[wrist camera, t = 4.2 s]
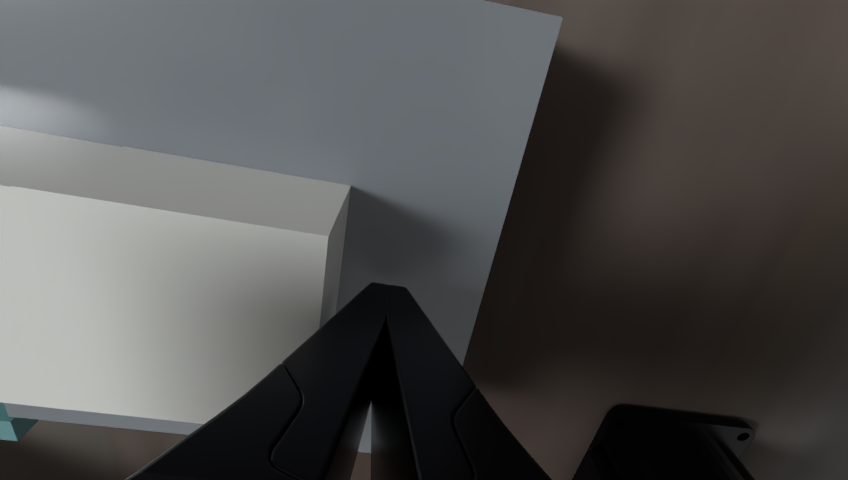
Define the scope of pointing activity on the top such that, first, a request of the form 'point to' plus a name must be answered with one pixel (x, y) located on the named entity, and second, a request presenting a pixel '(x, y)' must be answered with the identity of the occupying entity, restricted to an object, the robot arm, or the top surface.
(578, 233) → the top surface
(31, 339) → the tile
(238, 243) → the tile
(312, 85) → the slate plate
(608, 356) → the top surface
